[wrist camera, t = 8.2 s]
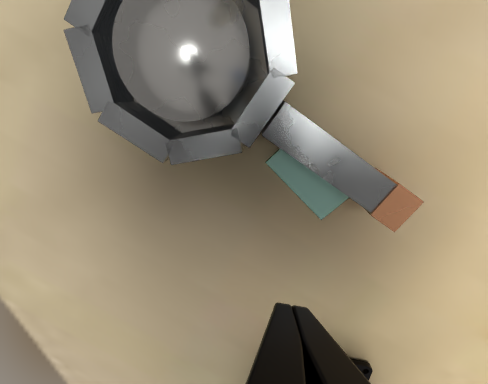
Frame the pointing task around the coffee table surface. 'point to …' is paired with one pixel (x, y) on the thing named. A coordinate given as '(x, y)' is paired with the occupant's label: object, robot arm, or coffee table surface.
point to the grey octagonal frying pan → (248, 124)
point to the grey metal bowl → (190, 58)
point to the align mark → (306, 184)
